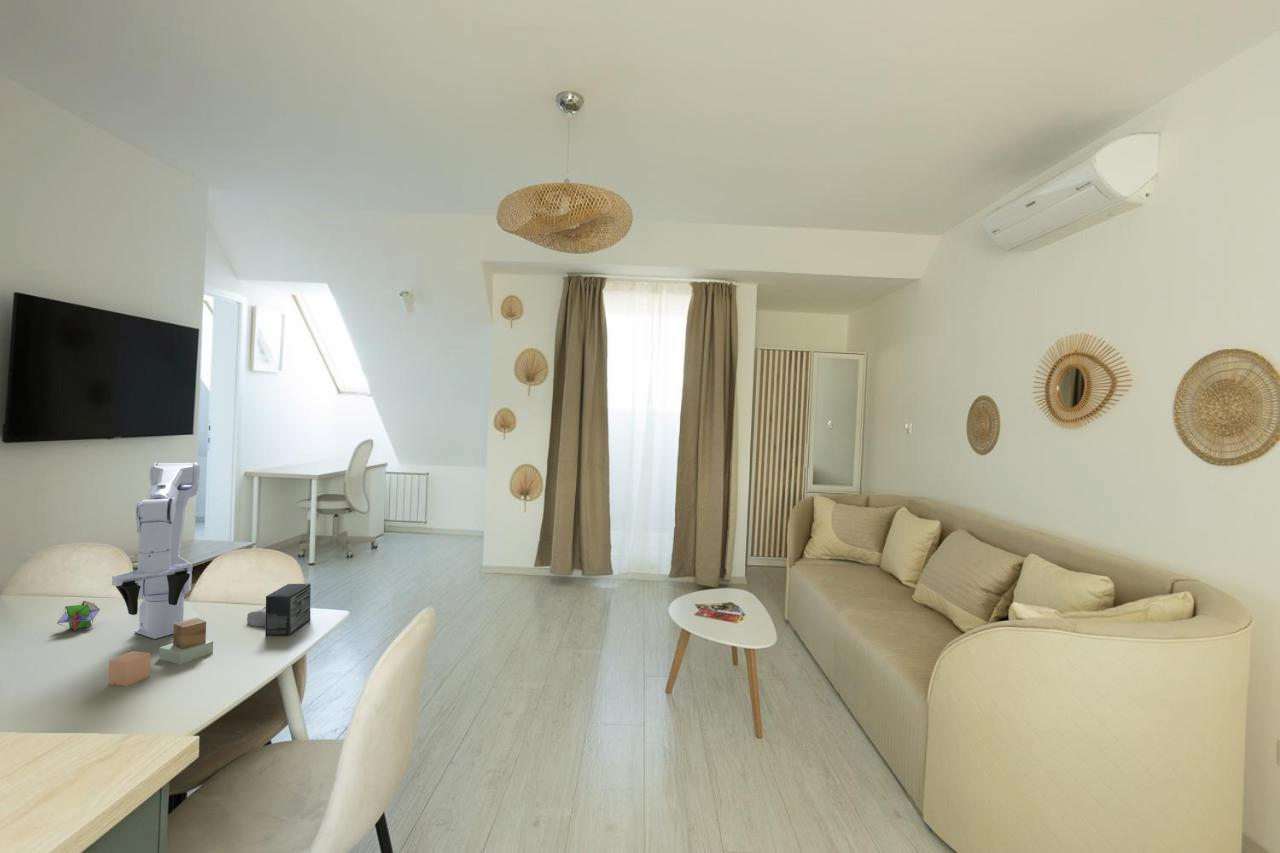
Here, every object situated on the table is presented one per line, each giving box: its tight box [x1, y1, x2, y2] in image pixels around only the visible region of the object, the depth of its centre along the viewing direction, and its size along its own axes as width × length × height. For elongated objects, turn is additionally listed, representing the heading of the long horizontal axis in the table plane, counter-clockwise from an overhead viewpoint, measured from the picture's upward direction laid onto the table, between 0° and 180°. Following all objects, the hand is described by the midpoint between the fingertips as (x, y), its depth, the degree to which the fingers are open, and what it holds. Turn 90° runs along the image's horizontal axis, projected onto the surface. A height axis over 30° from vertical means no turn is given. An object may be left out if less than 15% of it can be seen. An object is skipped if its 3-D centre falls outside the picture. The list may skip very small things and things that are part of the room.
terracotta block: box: [108, 650, 151, 687], centre depth 115 cm, size 4×4×5 cm
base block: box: [158, 639, 214, 665], centre depth 127 cm, size 7×7×3 cm
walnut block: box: [172, 617, 207, 649], centre depth 128 cm, size 4×4×5 cm
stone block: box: [246, 606, 266, 627], centre depth 152 cm, size 12×5×10 cm
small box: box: [264, 583, 312, 637], centre depth 145 cm, size 11×6×10 cm, turn 5°
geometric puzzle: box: [56, 600, 101, 633], centre depth 140 cm, size 7×7×8 cm
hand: (153, 609), depth 127 cm, fingers open, 7 cm apart
